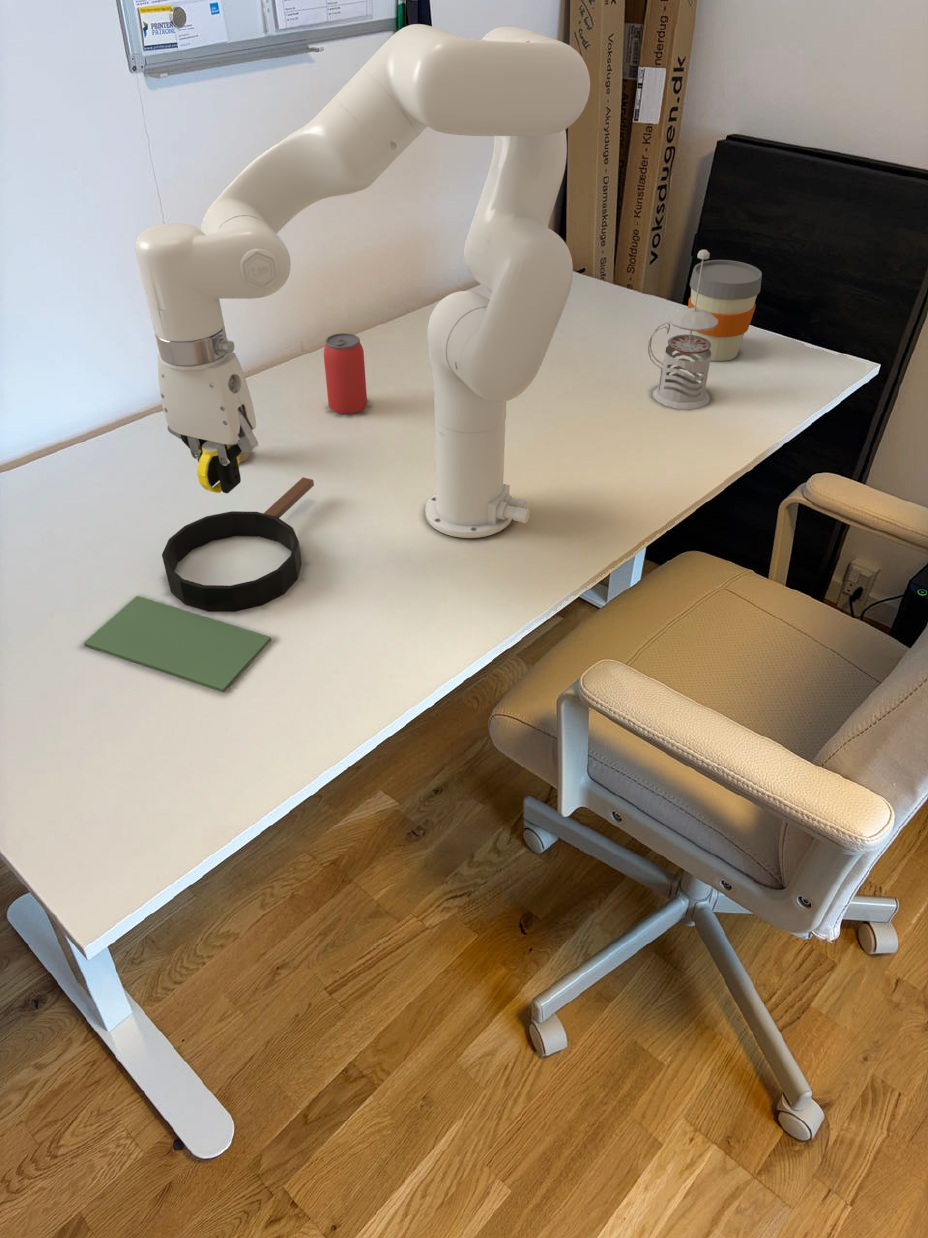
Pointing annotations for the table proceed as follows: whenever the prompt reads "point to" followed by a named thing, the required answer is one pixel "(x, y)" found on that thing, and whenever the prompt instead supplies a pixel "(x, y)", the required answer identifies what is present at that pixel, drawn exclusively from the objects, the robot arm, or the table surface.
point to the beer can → (345, 374)
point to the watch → (208, 453)
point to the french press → (680, 385)
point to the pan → (231, 526)
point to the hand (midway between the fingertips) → (222, 484)
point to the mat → (179, 643)
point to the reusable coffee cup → (725, 303)
